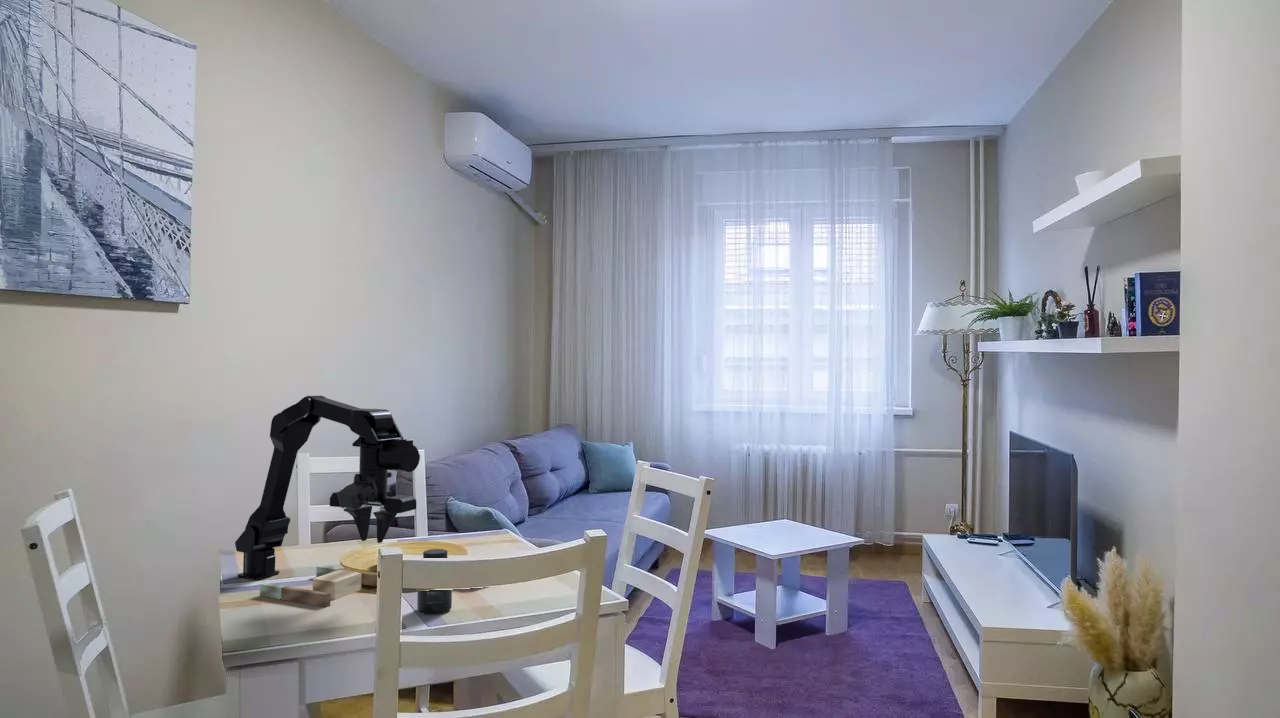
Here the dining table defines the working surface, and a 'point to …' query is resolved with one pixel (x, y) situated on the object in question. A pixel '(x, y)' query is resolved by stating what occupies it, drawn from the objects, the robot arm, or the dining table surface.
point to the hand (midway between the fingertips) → (371, 541)
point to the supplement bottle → (434, 591)
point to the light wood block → (338, 583)
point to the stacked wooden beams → (309, 595)
